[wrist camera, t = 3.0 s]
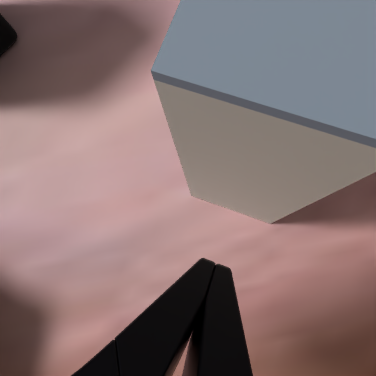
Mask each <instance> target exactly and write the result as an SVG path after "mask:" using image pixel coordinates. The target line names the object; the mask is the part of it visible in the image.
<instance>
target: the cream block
mask: <svg viewBox="0 0 376 376" xmlns="http://www.w3.org/2000/svg"><path fill="white" fill-rule="evenodd" d="M151 73H152V76H153V79H154V82H155V85H156V88H157V91H158V94H159V97H160V100H161V104H162V107H163V110H164V113H165V116H166V119H167V122H168V125H169V128H170V131H171V134H172V138H173V141H174V144H175V147H176V150H177V153H178V156H179V159H180V162H181V165H182V168H183V172H184V175H185V178H186V181H187V184H188V187H189V190H190V193H191V196H193V197H196V198H199V199H202V200H205V201H208V202H210V203H213V204H216V205H219V206H222V207H224V208H227V209H230V210H233V211H236V212H239V213H241V214H244V215H247V216H250V217H253V218H256V219H258V220H261V221H264V222H267V223H270V224H271V223H273V222H275V221H277V220H279V219H281V218H283V217H285V216H287V215H289V214H291V213H293V212H295V211H297V210H299V209H301V208H303V207H305V206H307V205H310V204H312V203H314V202H316V201H318V200H320V199H322V198H324V197H326V196H328V195H330V194H332V193H334V192H336V191H338V190H340V189H342V188H344V187H346V186H348V185H350V184H352V183H354V182H356V181H358V180H360V179H363V178H365V177H367V176H369V175H371V174H373V173H375V172H376V0H181V1H180V3H179V6H178V8H177V10H176V13H175V15H174V17H173V20H172V22H171V24H170V27H169V29H168V31H167V34H166V36H165V39H164V41H163V43H162V46H161V48H160V50H159V53H158V55H157V57H156V60H155V62H154V64H153V67H152V69H151Z"/></svg>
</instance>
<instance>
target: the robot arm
mask: <svg viewBox="0 0 376 376" xmlns="http://www.w3.org/2000/svg"><path fill="white" fill-rule="evenodd" d="M191 334H192V335H191ZM190 336H191V338H190ZM189 339H190V342H189V346H188V350H187V355H186V360H185V365H184V369H183V374H182V376H253V373H252V369H251V364H250V359H249V354H248V349H247V344H246V340H245V335H244V330H243V325H242V320H241V315H240V311H239V306H238V301H237V296H236V291H235V286H234V282H233V277H232V272H231V269H230V268H228V267H226V266H223V265H221V264H216V265H215V263H214V262H213V261H210V260H207V259H205V258H201V259H200V260H199V261H198V262H196V263H195V264H194V265H193V266H192V267H191V268H190V269H189V270H188V271H187V272H186V273H185V274H183V275H182V276H181V277H180V278H179V279H178V280H177V281H176V282H175V283H174V284H173V285H172V286H170V287H169V288H168V289H167V290H166V291H165V292H164V293H163V294H162V295H161V296H160V297H159V298H158V299H156V300H155V301H154V302H153V303H152V304H151V305H150V306H149V307H148V308H147V309H146V310H145V311H143V312H142V313H141V314H140V315H139V316H138V317H137V318H136V319H135V320H134V321H133V322H132V323H130V324H129V325H128V326H127V327H126V328H125V329H124V330H123V331H122V332H121V333H120V334H119V335H117V336H116V337H115V340H112V341H111V342H110V343H109V344H108V345H106V346H105V347H104V348H103V349H102V350H101V351H100V352H99V353H98V354H96V355H95V356H94V357H93V358H92V359H91V360H90V361H88V362H87V363H86V364H85V365H84V366H83V367H81V368H80V369H79V370H78V371H76V372H75V373H74V374H72V375H71V376H172V375H173V373H174V371H175V369H176V367H177V365H178V363H179V361H180V358H181V356H182V354H183V352H184V350H185V348H186V346H187V343H188V341H189Z"/></svg>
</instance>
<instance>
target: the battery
mask: <svg viewBox="0 0 376 376" xmlns="http://www.w3.org/2000/svg"><path fill="white" fill-rule="evenodd" d="M16 39H17V33H16V32H15V30H14V29H13V28H12V27H11V25H10V24H9V23H8V22H7V21H6V20H5V19H4V17H3V16H2V15H1V14H0V55H1V54H2V53H3V52H4V51H5V50H7V49H8V48H9V47H10V46H11V45H12V44H13V43H14V42H15V41H16Z"/></svg>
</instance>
